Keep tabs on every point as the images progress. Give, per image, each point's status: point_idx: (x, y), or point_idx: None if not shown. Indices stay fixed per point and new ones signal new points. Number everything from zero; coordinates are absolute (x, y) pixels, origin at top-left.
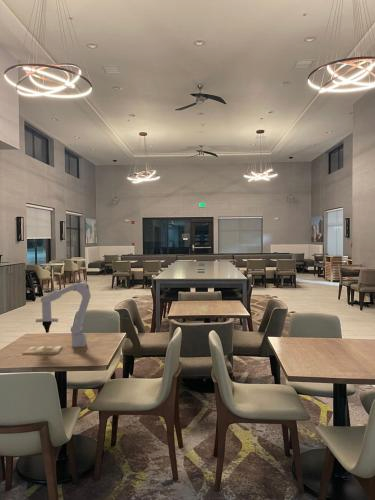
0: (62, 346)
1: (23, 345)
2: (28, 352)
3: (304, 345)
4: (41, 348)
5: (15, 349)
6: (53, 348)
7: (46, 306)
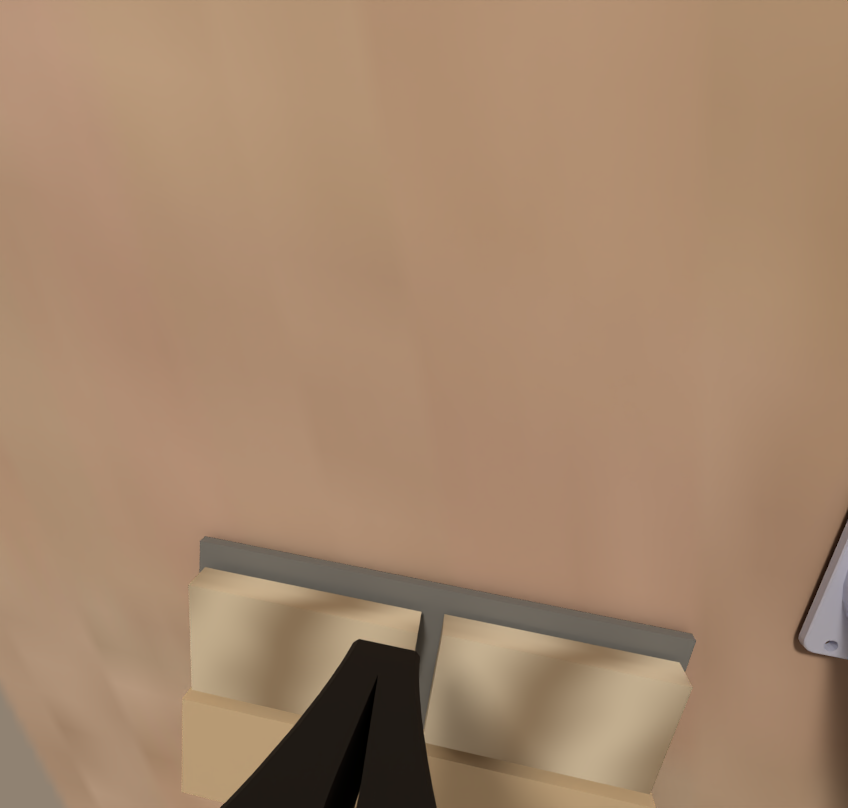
0: (689, 684)
1: (17, 263)
2: None
3: None
4: None
5: (3, 468)
6: (550, 748)
7: None
